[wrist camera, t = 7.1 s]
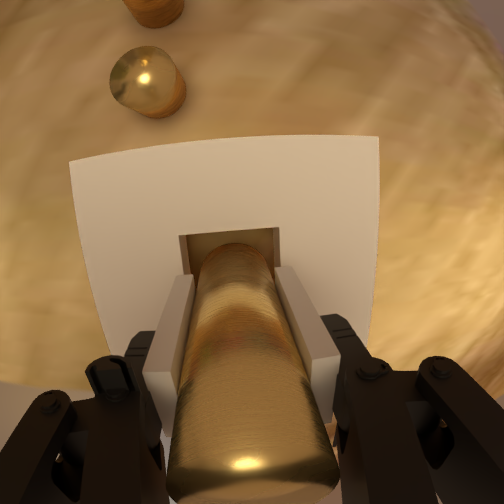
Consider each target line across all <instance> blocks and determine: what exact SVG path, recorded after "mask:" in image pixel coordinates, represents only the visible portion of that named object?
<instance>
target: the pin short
mask: <svg viewBox="0 0 504 504" xmlns="http://www.w3.org/2000/svg"><path fill="white" fill-rule="evenodd" d="M110 89H111V92H112V95H113V96H114V98H115V99H116V100H117V101H118V102H119V103H120V104H122V105H124V106H126V107H128V108H130V109H133V110H135V111H137V112H139V113H141V114H144V115H146V116H148V117H151V118H164V117H167V116H170V115H172V114H173V113H175V112H176V111H177V110H178V109H179V108H180V107H181V106H182V104H183V102H184V100H185V97H186V85H185V82H184V80H183V78H182V76H181V75H180V73H179V71H178V69H177V68H176V66H175V64H174V62H173V61H172V59H171V57H170V56H169V55H168V54H167V53H166V52H165V51H164V50H162V49H160V48H157V47H153V46H142V47H138V48H135V49H132V50H130V51H129V52H127V53H126V54H124V55H123V56H122V57H121V58H120V59H119V60H118V61H117V63H116V64H115V66H114V67H113V69H112V72H111V75H110Z"/></svg>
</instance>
